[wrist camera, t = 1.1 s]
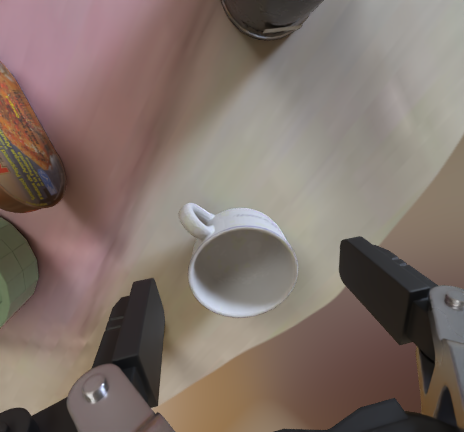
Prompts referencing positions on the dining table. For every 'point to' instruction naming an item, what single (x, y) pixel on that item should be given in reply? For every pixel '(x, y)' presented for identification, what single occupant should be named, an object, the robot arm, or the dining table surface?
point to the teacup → (238, 261)
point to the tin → (25, 154)
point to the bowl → (15, 271)
